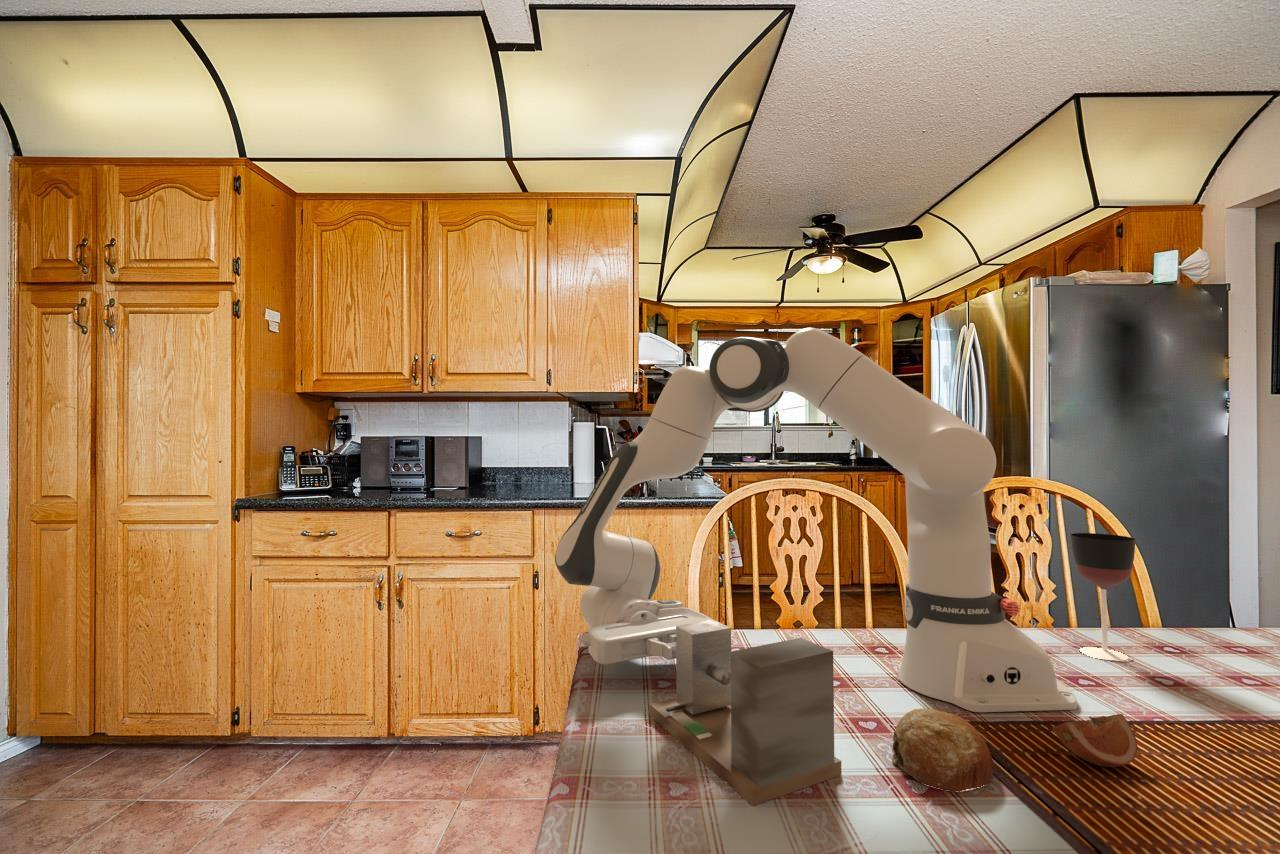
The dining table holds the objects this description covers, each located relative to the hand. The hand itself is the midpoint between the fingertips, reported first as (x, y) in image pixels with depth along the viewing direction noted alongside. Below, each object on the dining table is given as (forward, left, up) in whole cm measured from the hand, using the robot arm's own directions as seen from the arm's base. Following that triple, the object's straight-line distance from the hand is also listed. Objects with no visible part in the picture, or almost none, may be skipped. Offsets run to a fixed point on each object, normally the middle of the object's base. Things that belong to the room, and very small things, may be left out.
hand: (678, 652), depth 84 cm
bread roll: (-30, +14, -7) cm, 34 cm away
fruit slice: (-48, +10, -7) cm, 49 cm away
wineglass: (-71, -27, -7) cm, 76 cm away
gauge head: (-4, +8, -5) cm, 10 cm away
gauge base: (-8, +11, -6) cm, 15 cm away
